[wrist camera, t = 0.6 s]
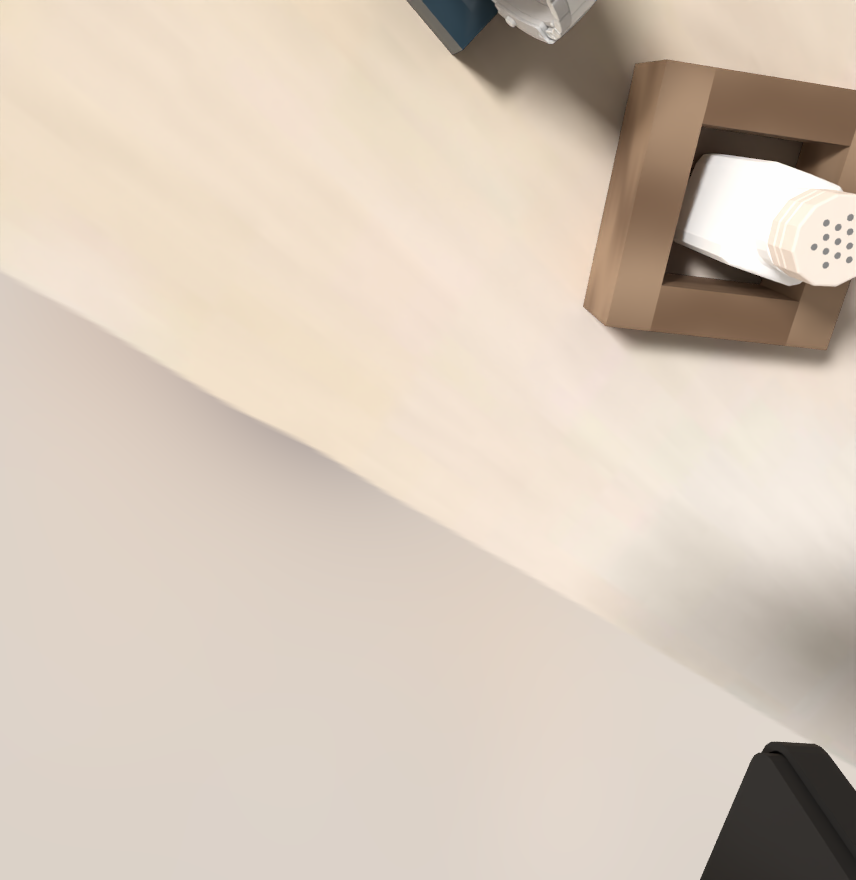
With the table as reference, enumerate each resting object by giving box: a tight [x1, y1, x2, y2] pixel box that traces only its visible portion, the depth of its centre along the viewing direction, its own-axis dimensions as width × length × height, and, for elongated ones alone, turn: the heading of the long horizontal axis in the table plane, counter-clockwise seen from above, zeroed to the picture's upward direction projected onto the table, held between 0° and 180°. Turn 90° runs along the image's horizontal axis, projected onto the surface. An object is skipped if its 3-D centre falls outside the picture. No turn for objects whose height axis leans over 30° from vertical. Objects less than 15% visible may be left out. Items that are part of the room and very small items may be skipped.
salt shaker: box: [673, 153, 856, 287], centre depth 31 cm, size 4×4×10 cm
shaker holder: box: [583, 60, 856, 350], centre depth 33 cm, size 10×10×4 cm
